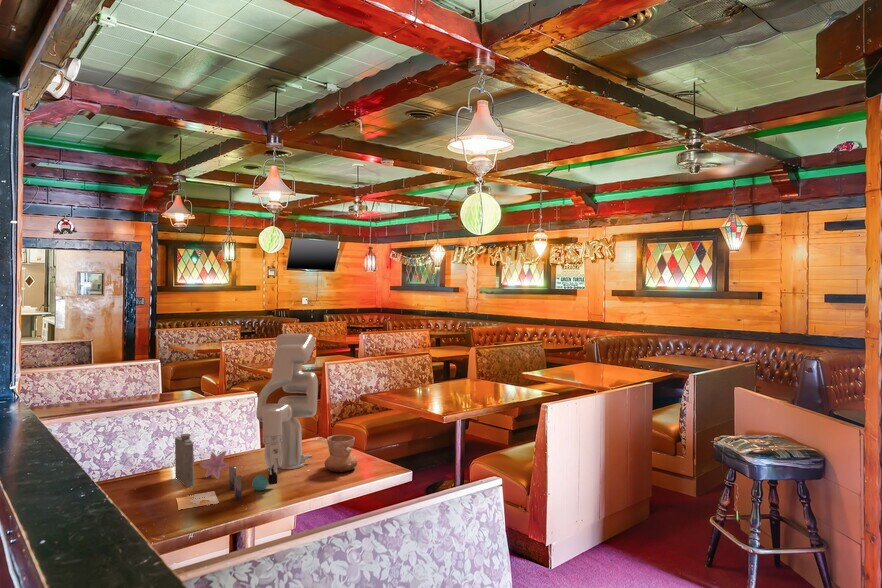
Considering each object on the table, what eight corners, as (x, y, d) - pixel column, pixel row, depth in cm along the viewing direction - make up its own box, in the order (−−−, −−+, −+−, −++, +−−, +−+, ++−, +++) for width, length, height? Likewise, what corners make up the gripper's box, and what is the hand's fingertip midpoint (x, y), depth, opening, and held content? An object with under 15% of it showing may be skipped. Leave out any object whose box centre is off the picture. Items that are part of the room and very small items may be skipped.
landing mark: (214, 491, 226) (214, 491, 226) (218, 503, 214) (218, 502, 214) (175, 498, 219) (175, 497, 219) (178, 510, 207) (178, 510, 207)
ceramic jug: (364, 471, 250) (364, 438, 250) (334, 477, 242) (334, 444, 242) (345, 461, 265) (345, 431, 265) (316, 467, 256) (316, 436, 256)
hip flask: (174, 478, 242) (173, 431, 242) (184, 476, 245) (183, 429, 245) (186, 488, 230) (186, 439, 230) (197, 485, 233) (196, 437, 233)
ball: (261, 470, 231) (247, 478, 228) (266, 475, 226) (252, 483, 223) (267, 482, 232) (253, 490, 229) (272, 487, 227) (258, 495, 224)
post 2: (241, 497, 219) (240, 474, 219) (242, 500, 217) (242, 476, 217) (234, 499, 218) (233, 475, 218) (235, 501, 216) (234, 477, 216)
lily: (198, 476, 247) (193, 460, 242) (221, 460, 256) (217, 444, 251) (215, 489, 241) (210, 474, 237) (238, 472, 250) (234, 457, 245)
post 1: (235, 487, 231) (235, 465, 231) (236, 489, 229) (236, 467, 228) (228, 488, 230) (228, 466, 229) (229, 490, 227) (229, 468, 227)
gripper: (286, 441, 225) (287, 487, 225) (277, 433, 238) (277, 476, 238) (267, 444, 221) (267, 491, 222) (258, 435, 234) (259, 480, 234)
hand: (272, 483), depth 230 cm, fingers closed
